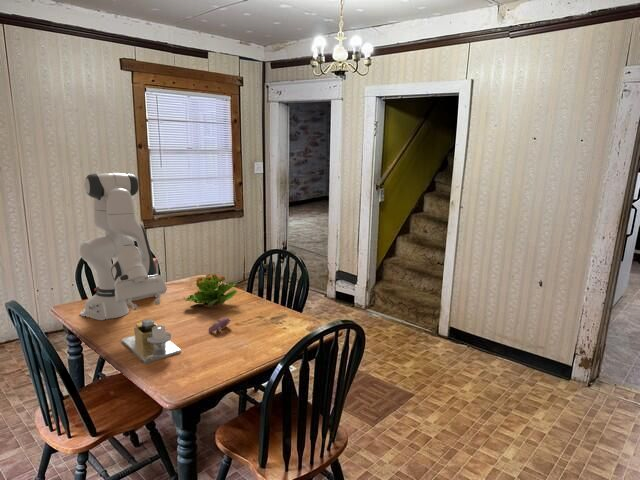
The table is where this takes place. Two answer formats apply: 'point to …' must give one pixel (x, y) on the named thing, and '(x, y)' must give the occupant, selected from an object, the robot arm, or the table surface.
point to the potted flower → (212, 291)
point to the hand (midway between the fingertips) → (147, 306)
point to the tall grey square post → (147, 325)
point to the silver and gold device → (151, 343)
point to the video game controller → (219, 324)
